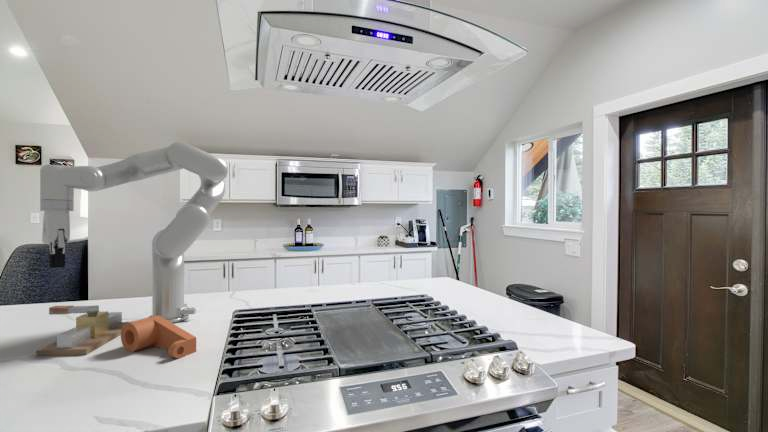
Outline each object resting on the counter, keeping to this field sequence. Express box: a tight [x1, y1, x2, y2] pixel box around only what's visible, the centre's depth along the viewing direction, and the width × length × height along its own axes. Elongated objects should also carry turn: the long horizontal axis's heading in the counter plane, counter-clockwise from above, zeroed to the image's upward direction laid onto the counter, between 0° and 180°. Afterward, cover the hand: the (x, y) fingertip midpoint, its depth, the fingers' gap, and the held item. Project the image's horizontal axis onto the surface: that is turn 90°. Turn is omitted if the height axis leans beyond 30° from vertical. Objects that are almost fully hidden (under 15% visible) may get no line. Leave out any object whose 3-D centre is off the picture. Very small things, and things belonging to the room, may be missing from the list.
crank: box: [120, 315, 197, 359], centre depth 99 cm, size 20×8×8 cm, turn 65°
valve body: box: [56, 310, 123, 349], centre depth 107 cm, size 22×5×6 cm, turn 7°
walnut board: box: [35, 321, 130, 357], centre depth 107 cm, size 24×12×2 cm, turn 7°
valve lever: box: [48, 304, 100, 315], centre depth 106 cm, size 12×3×2 cm, turn 97°
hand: (57, 266), depth 109 cm, fingers closed
